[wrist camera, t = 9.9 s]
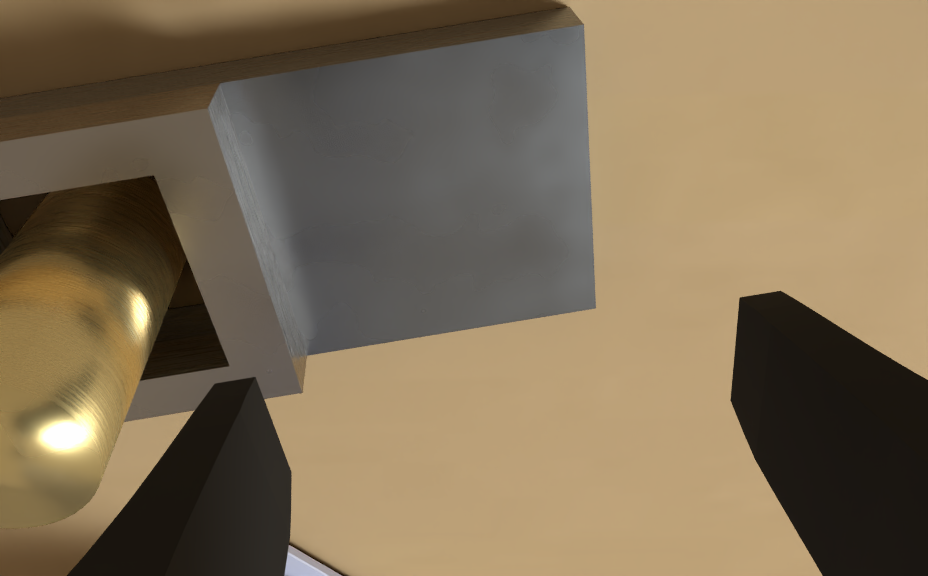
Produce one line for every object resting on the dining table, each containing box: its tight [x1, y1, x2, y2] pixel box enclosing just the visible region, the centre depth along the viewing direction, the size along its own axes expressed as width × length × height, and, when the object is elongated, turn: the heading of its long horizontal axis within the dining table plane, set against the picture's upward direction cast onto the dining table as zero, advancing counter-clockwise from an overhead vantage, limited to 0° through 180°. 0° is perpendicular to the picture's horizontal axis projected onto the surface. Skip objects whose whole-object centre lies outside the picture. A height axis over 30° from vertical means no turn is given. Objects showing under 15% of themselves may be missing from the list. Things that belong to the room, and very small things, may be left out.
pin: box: [0, 176, 187, 529], centre depth 17 cm, size 4×4×8 cm
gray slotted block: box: [0, 7, 596, 422], centre depth 19 cm, size 24×8×3 cm, turn 97°
